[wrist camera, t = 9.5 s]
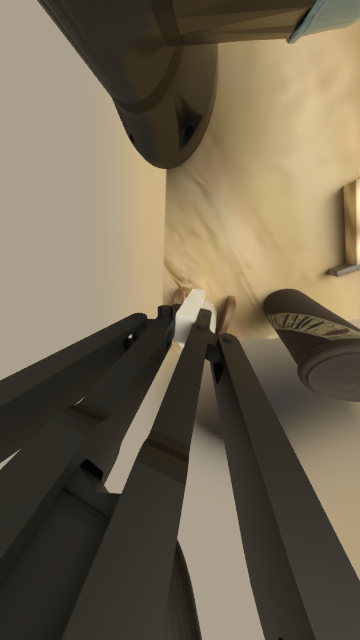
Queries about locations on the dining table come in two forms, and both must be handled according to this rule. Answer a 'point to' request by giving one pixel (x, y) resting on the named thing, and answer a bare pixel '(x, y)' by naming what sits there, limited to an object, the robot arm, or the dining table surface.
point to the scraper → (351, 230)
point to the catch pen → (226, 316)
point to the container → (317, 344)
